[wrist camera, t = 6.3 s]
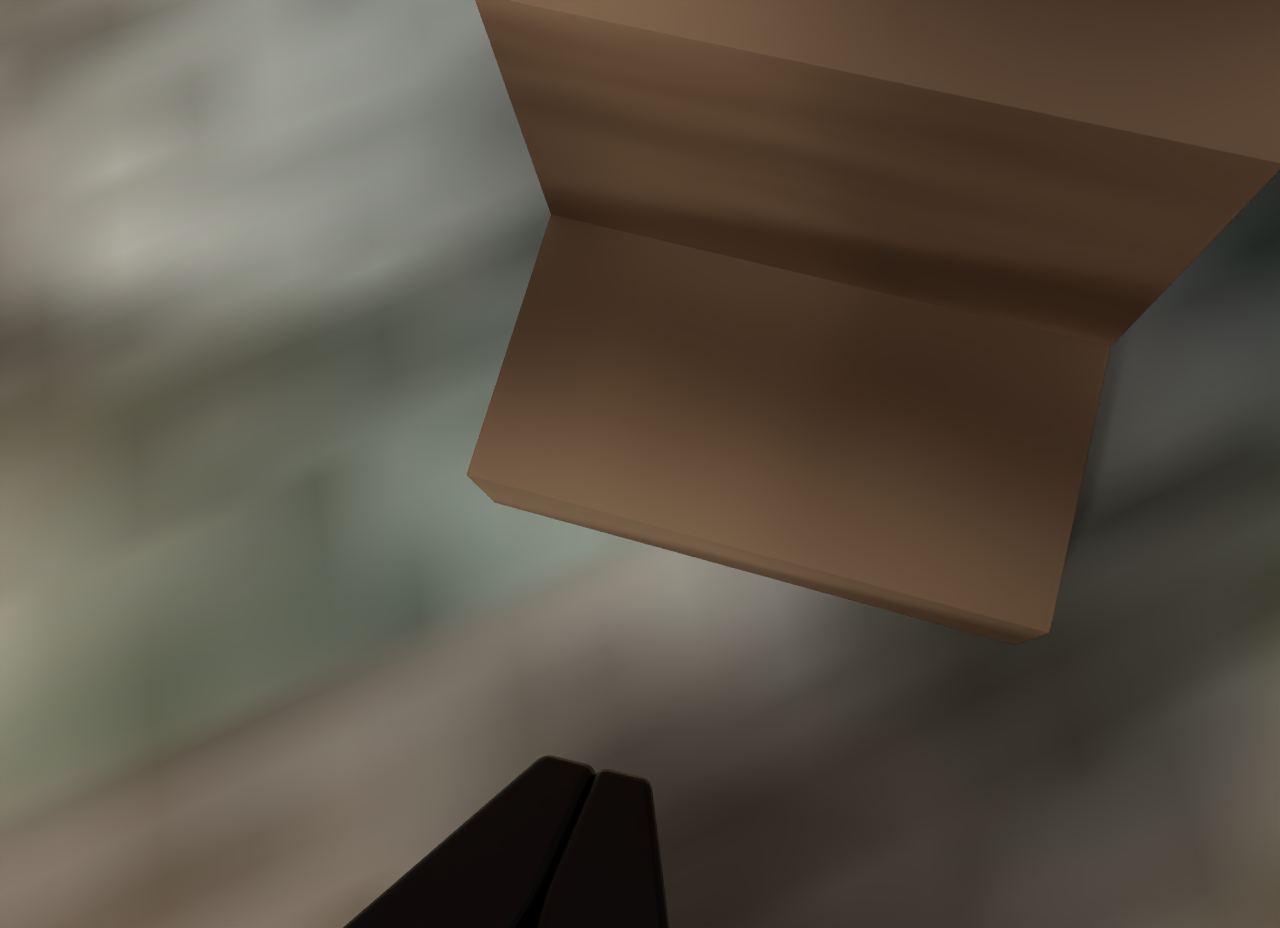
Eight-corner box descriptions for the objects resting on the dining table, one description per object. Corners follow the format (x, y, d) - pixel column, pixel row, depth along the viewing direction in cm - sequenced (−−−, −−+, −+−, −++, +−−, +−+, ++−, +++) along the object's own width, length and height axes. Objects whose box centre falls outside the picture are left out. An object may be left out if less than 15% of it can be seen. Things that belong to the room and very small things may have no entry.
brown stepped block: (1013, 644, 21) (1206, 580, 13) (495, 502, 23) (343, 355, 14) (1178, -101, 24) (1423, -568, 16) (714, -186, 26) (703, -658, 17)
